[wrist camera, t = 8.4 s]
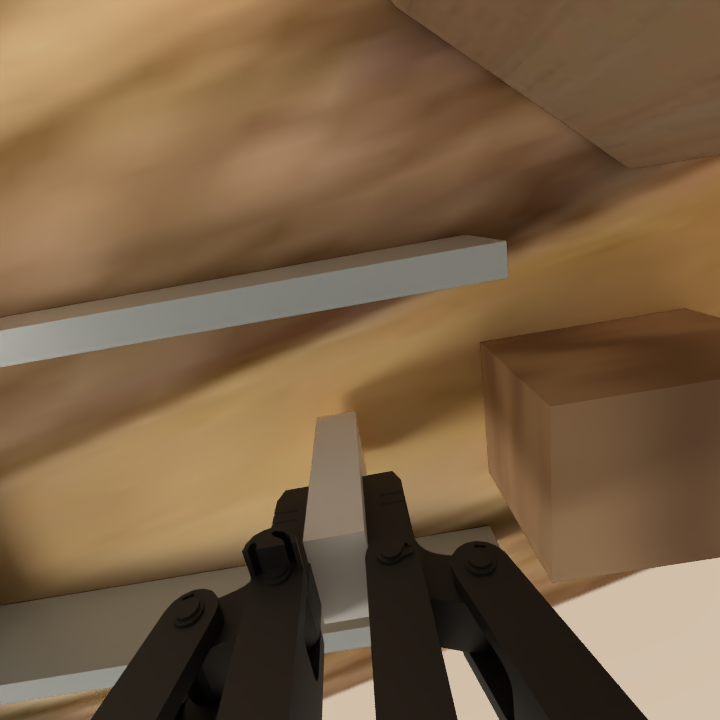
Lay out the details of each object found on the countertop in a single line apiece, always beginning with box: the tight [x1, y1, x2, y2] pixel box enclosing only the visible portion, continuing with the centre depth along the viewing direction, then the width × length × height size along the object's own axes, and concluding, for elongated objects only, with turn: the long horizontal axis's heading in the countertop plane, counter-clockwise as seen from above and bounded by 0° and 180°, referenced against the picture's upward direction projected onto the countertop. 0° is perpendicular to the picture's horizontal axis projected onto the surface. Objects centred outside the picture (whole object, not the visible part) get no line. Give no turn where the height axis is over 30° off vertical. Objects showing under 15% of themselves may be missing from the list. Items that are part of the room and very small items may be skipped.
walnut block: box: [480, 309, 720, 583], centre depth 15 cm, size 8×6×6 cm
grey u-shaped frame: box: [0, 235, 508, 705], centre depth 16 cm, size 26×14×4 cm, turn 100°
